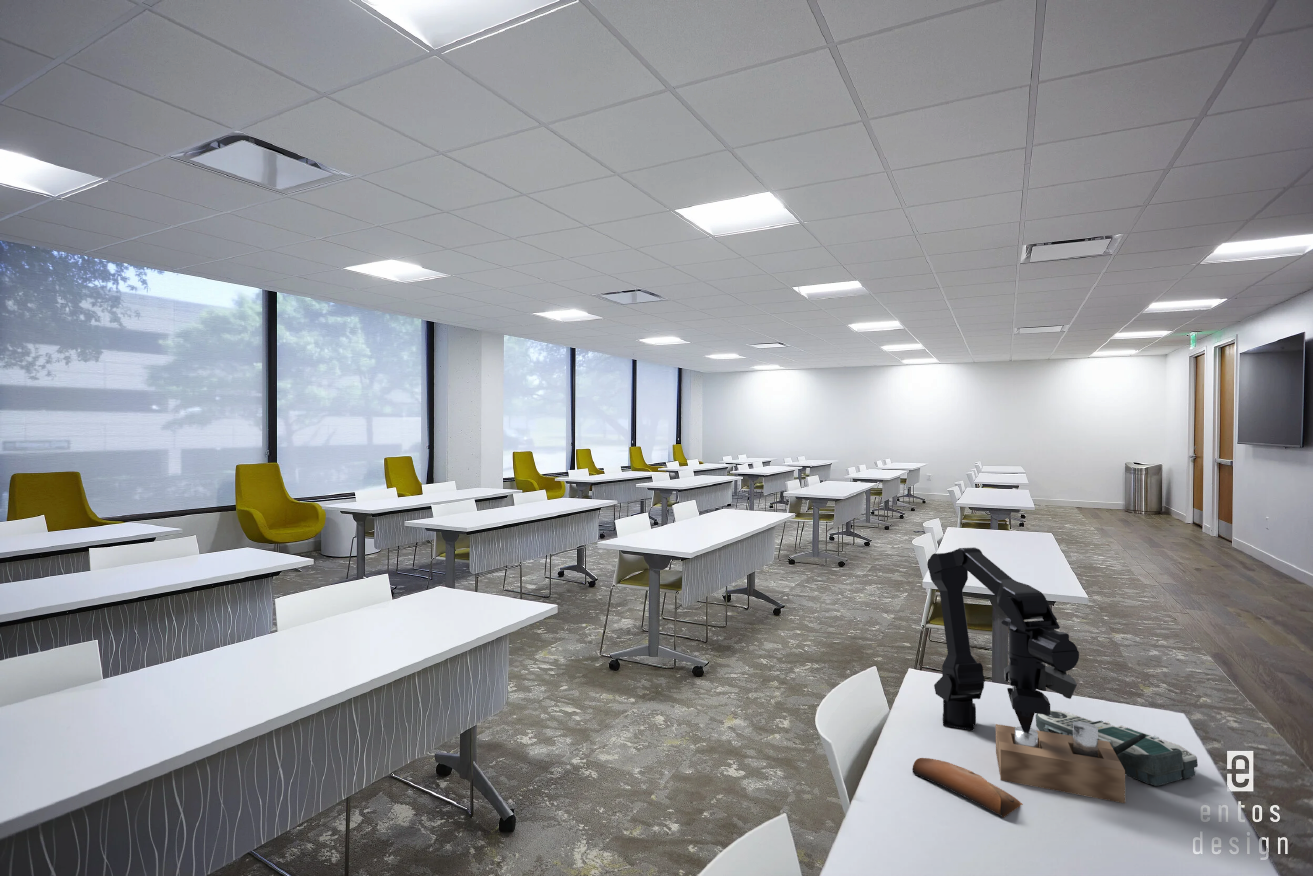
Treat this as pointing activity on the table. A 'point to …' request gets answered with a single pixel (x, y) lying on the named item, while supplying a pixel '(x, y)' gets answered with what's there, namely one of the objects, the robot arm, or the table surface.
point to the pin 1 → (1026, 737)
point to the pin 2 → (1085, 739)
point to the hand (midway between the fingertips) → (1025, 731)
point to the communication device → (1131, 748)
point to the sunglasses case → (966, 785)
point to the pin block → (1060, 765)
